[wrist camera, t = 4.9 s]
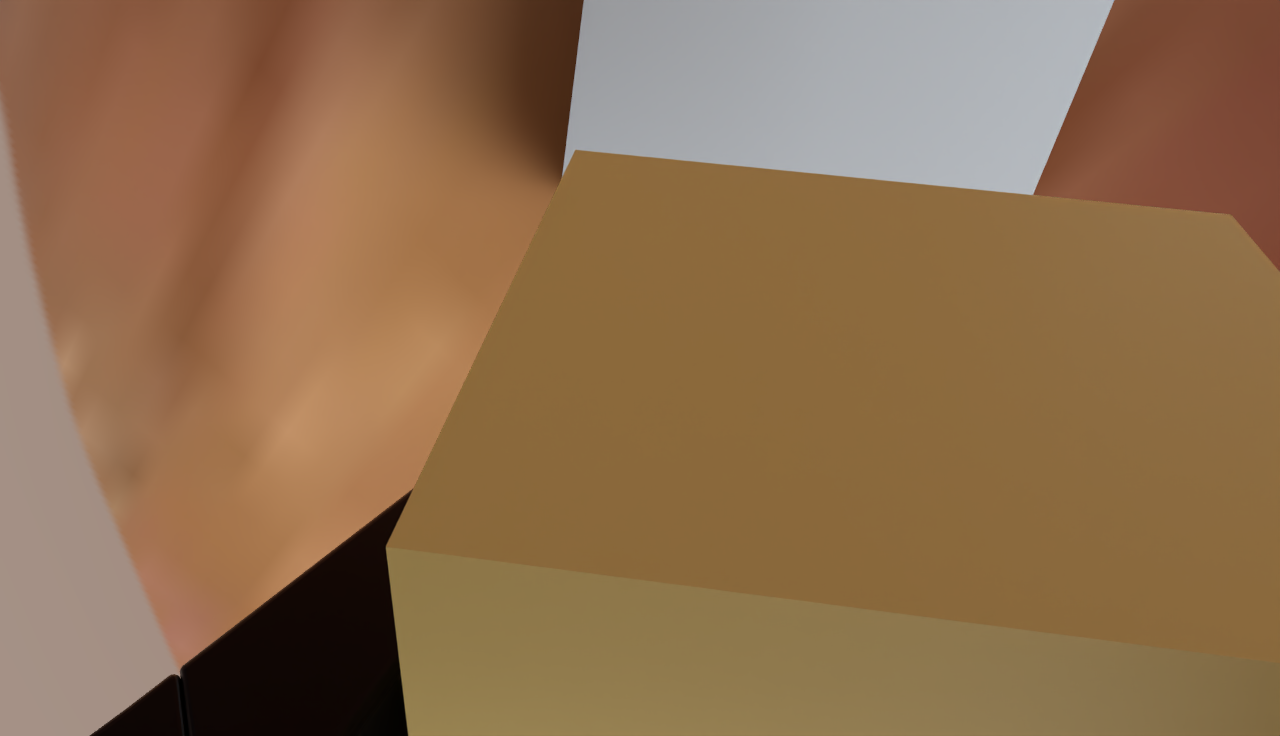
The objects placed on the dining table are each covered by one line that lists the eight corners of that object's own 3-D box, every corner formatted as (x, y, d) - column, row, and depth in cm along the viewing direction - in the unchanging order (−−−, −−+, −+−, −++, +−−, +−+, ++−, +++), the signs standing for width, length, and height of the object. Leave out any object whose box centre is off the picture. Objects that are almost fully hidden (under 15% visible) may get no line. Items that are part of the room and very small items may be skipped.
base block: (1084, -125, 16) (1147, -81, 13) (938, 266, 20) (961, 365, 17) (642, -211, 16) (606, -188, 13) (586, 193, 20) (549, 280, 17)
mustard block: (1230, 215, 8) (1653, 711, 4) (1046, 657, 10) (1187, 1195, 7) (575, 149, 8) (385, 546, 4) (566, 595, 11) (447, 1070, 7)
